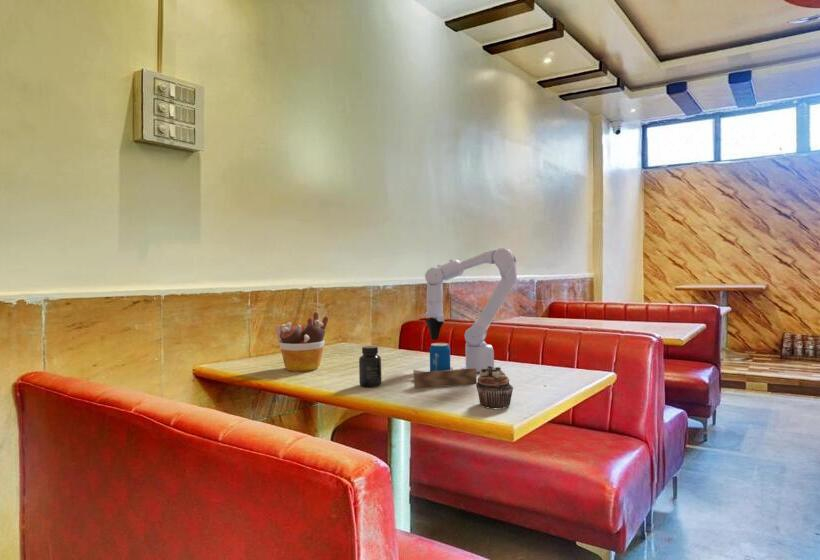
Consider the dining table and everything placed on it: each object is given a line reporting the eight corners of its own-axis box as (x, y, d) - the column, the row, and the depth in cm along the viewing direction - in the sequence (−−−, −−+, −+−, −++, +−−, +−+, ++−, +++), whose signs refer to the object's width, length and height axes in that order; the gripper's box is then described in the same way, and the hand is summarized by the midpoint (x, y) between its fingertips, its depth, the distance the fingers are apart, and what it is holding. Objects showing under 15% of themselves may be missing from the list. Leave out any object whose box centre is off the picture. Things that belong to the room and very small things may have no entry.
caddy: (461, 375, 183) (460, 361, 182) (476, 383, 170) (476, 368, 170) (403, 379, 177) (403, 365, 177) (415, 388, 165) (415, 373, 165)
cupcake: (509, 411, 138) (509, 371, 138) (472, 407, 142) (471, 369, 141) (516, 402, 147) (516, 365, 147) (481, 399, 151) (481, 363, 150)
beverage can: (426, 382, 172) (426, 345, 171) (435, 378, 177) (435, 342, 177) (445, 384, 169) (444, 346, 168) (453, 380, 174) (453, 343, 174)
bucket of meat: (303, 375, 185) (302, 317, 185) (266, 371, 193) (265, 315, 192) (338, 365, 203) (337, 312, 202) (303, 362, 211) (302, 311, 210)
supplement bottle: (359, 383, 173) (359, 345, 172) (381, 382, 173) (380, 345, 173) (359, 388, 166) (358, 349, 165) (381, 387, 166) (381, 348, 166)
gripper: (417, 300, 200) (417, 337, 200) (430, 303, 186) (430, 342, 186) (435, 299, 202) (435, 336, 202) (450, 302, 188) (449, 342, 188)
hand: (434, 339), depth 194 cm, fingers closed
